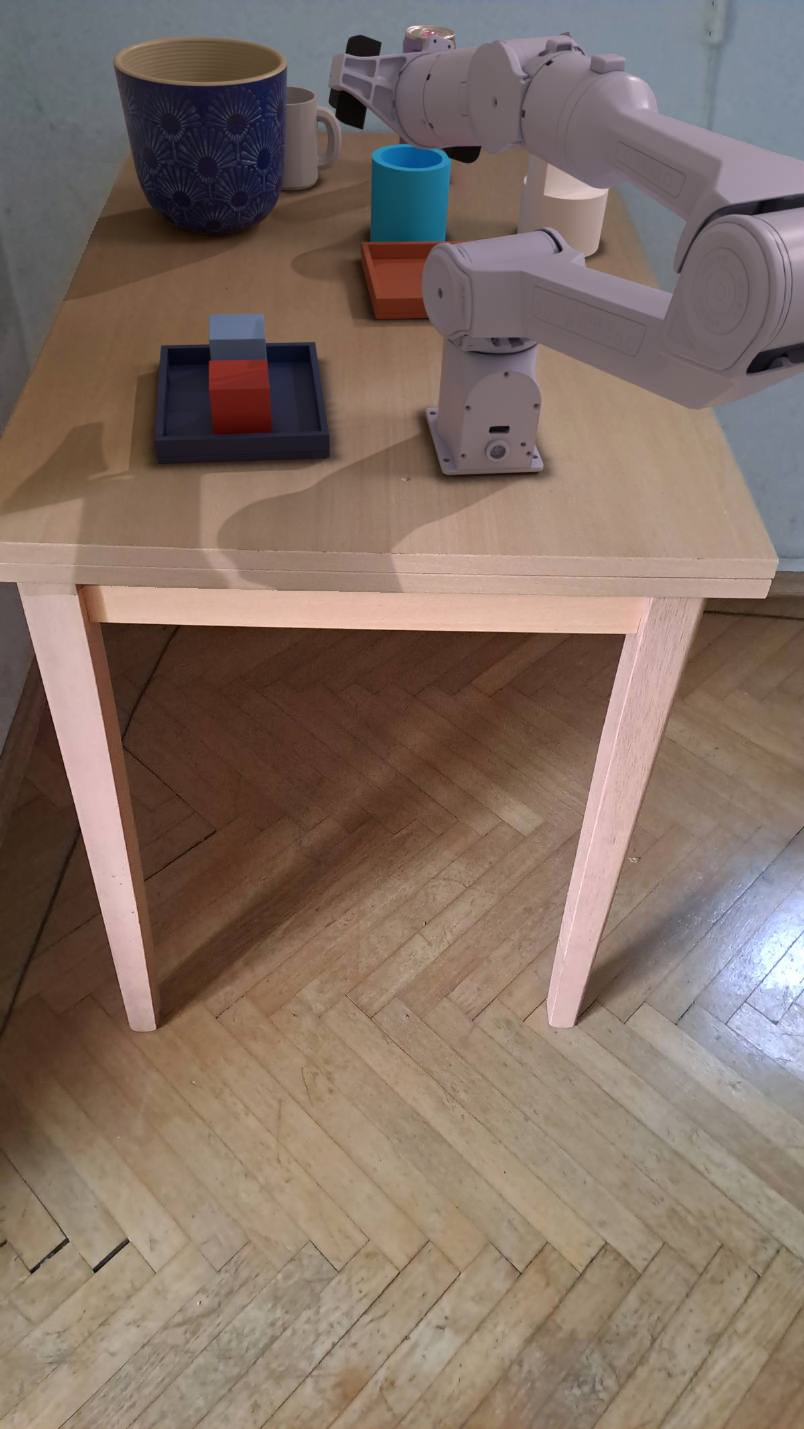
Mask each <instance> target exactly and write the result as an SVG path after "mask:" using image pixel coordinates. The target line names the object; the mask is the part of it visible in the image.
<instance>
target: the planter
mask: <svg viewBox="0 0 804 1429" xmlns="http://www.w3.org/2000/svg"><path fill="white" fill-rule="evenodd" d="M112 64H113V69H114V74H115V78H116V83H117V88H118V93H119V98H120V103H121V107H122V112H123V116H124V121H125V128H126V131H127V136H128V141H129V146H130V150H131V155H132V160H133V165H134V169H135V173H136V174H135V175H136V177H137V180H138V184H139V186H140V188H141V191H142V193H143V194H144V196H145V199H146V200H147V202H148V204H149V205H150V207H151V208H152V209H153V210H154V212H156V213H157V215H159V217H161V218H162V220H164V221H165V222H167V223H168V224H170V225H172V226H173V227H176V228H177V229H179V230H182V231H186V232H190V233H194V234H202V235H212V236H213V235H229V234H234V233H239V232H244V231H246V230H250V229H252V228H253V227H256V226H257V225H259V224H261V222H263V221H264V220H266V218H267V217H268V216H270V214H271V212H272V211H273V209H275V207H276V205H277V203H278V201H279V198H280V195H281V192H282V190H281V189H282V185H283V179H284V170H285V139H286V99H287V86H288V60H287V58H286V57H285V55H283V53H281V52H280V51H279V50H276V49H275V48H273V47H270V46H267V45H265V44H261V43H258V42H253V41H249V40H245V39H238V38H231V37H220V36H219V37H218V36H217V37H216V36H200V35H199V36H198V35H197V36H174V37H163V38H157V39H155V38H154V39H150V40H146V41H140V42H137V43H134V44H130V45H129V46H126V47H124V48H122V49H120V50H119V51H118V52H117V53H116V54H115V55H114V57H113V60H112Z"/></svg>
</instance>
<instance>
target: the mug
mask: <svg viewBox="0 0 804 1429" xmlns="http://www.w3.org/2000/svg"><path fill="white" fill-rule="evenodd" d="M451 166H452V159H450V158H448V156H447V154H446V153H445V152H444V151H441V150H439V149H419V148H416V147H413V146H412V145H410V144H399V143H398V144H389V145H385V146H381V147H379V148H376V149H375V150H373V152H372V153H371V177H370V178H371V180H370V182H371V183H370V184H371V186H370V227H369V228H370V229H369V230H370V231H369V233H370V234H369V235H370V237H369V239H370V242H424V241H446V236H447V221H448V210H449V207H448V206H449V196H450V195H449V193H450V184H451V183H450V181H451Z"/></svg>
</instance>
